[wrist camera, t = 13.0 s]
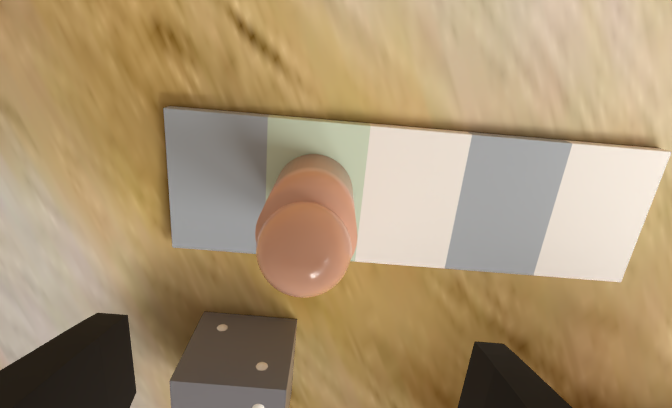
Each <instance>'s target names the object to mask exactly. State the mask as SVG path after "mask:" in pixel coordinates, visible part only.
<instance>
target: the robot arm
mask: <svg viewBox="0 0 672 408" xmlns="http://www.w3.org/2000/svg"><path fill="white" fill-rule="evenodd" d="M135 394H136V385H135V376H134V367H133V358H132V350H131V341H130V332H129V323H128V315H119V314H106V313H97V314H95V315H93V316H91V317H89V318H87V319H86V320H84V321H82V322H80V323H79V324H77V325H75V326H74V327H72V328H70V329H68V330H67V331H65V332H63V333H62V334H60V335H59V336H57V337H55V338H54V339H52V340H50V341H49V342H47V343H45V344H44V345H42V346H40V347H39V348H37V349H35V350H34V351H32V352H31V353H29V354H27V355H26V356H24V357H22V358H20V359H19V360H17V361H15V362H14V363H12V364H10V365H9V366H7V367H5V368H4V369H2V370H0V408H130V406H131V403H132V401H133V399H134V396H135ZM458 408H572V407H571V406H570V405H569V404H568V403H567V402H566V401H564V400H563V399H562V398H561V397H560V396H559V395H558V394H557V393H556V392H555V391H554V390H553V389H552V388H551V387H550V386H549V385H548V384H546V383H545V382H544V381H543V380H542V379H541V378H540V377H539V376H538V375H537V374H536V373H535V372H534V371H533V370H532V369H531V368H530V367H528V366H527V365H526V364H525V363H524V362H523V361H522V360H521V359H520V358H519V357H518V356H517V355H516V354H515V353H513V352H512V351H511V350H510V349H509V348H508V347H507V346H505V345H504V344H499V343H486V342H475V343H474V346H473V350H472V354H471V358H470V362H469V366H468V370H467V374H466V378H465V381H464V385H463V389H462V393H461V397H460V401H459V405H458Z"/></svg>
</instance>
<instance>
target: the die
mask: <svg viewBox="0 0 672 408" xmlns="http://www.w3.org/2000/svg"><path fill="white" fill-rule="evenodd" d="M296 327H297V319H287V318H275V317H263V316H251V315H239V314H227V313H215V312H204V313H203V315H202V317H201V319H200V321H199V323H198V325H197V327H196V329H195V331H194V333H193V335H192V337H191V339H190V341H189V343H188V345H187V347H186V349H185V351H184V353H183V355H182V357H181V359H180V361H179V363H178V365H177V367H176V369H175V371H174V373H173V375H172V377H171V379H170V395H171V408H289V406H290V399H291V391H292V380H293V366H294V353H295V340H296Z"/></svg>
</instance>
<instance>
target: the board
mask: <svg viewBox="0 0 672 408" xmlns="http://www.w3.org/2000/svg"><path fill="white" fill-rule="evenodd" d="M163 109H164V124H165V140H166V155H167V170H168V186H169V201H170V216H171V232H172V247H175V248H188V249H200V250H213V251H226V252H239V253H252V254H256V239H255V230H256V224H257V220H258V218H259V215H260V213H261V211H262V209H263V207H264V205H265V203H266V201H267V199H268V196H269V194H270V192H271V190H272V188H273V186H274V184H275V182H276V180H277V178H278V175H279V174H280V172H281V170H282V169H283V168H284V166H285V165H286V164H287V163H289V162H290V161H291V160H293V159H295V158H297V157H299V156H302V155H307V154H319V155H324V156H328V157H330V158H332V159H334V160H335V161H337V162H338V163H340V164H341V165H342V166H343V167H344V169H345V170H346V171H347V173H348V175H349V176H350V179H351V182H352V186H353V196H354V206H355V216H356V226H357V245H356V249H355V252H354V254H353V256H352V258H351V260H350V261H355V262H368V263H381V264H393V265H406V266H419V267H432V268H445V269H458V270H471V271H484V272H496V273H509V274H522V275H535V276H548V277H561V278H574V279H586V280H599V281H612V282H621V281H622V278H623V276H624V273H625V270H626V268H627V265H628V263H629V260H630V258H631V255H632V252H633V250H634V247H635V245H636V242H637V240H638V237H639V234H640V232H641V229H642V227H643V224H644V222H645V219H646V216H647V214H648V211H649V209H650V206H651V203H652V201H653V198H654V196H655V193H656V191H657V188H658V185H659V183H660V180H661V178H662V175H663V173H664V170H665V167H666V165H667V162H668V160H669V157H670V155H671V152H670V151H667V150H664V149H661V148H649V147H638V146H626V145H615V144H603V143H592V142H580V141H569V140H557V139H545V138H534V137H522V136H511V135H499V134H488V133H476V132H465V131H453V130H442V129H430V128H418V127H407V126H395V125H384V124H372V123H361V122H349V121H338V120H326V119H315V118H303V117H292V116H280V115H268V114H257V113H245V112H234V111H222V110H211V109H199V108H188V107H176V106H168V107H165V108H163Z"/></svg>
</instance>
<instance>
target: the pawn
mask: <svg viewBox="0 0 672 408" xmlns="http://www.w3.org/2000/svg"><path fill="white" fill-rule="evenodd" d="M255 239H256V257H257V262H258V265H259V268H260V270H261V272H262V274H263V276H264V277H265V278H266V280H267V281H268V282H269V283H270V284H271V285H272V286H273V287H274V288H276V289H277V290H279V291H280V292H282V293H284V294H287V295H290V296H294V297H313V296H317V295H320V294H323V293H325V292H327V291H328V290H330V289H331V288H333V287H334V286H335V285H337V283H338V282H339V281H340V280H341V279H342V277H343V276H344V275H345V273H346V271H347V269H348V266H349V264H350V260H351V258H352V256H353V254H354V252H355V249H356V245H357V226H356V216H355V206H354V196H353V186H352V182H351V179H350V176H349V175H348V173H347V171H346V170H345V169H344V167H343V166H342V165H341V164H340V163H338V162H337V161H335V160H334V159H332V158H330V157H328V156H324V155H319V154H307V155H302V156H299V157H297V158H295V159H293V160H291V161H290V162H289V163H287V164H286V165H285V166H284V168H283V169H282V170H281V172H280V174H279V175H278V178H277V180H276V182H275V184H274V186H273V188H272V190H271V192H270V194H269V196H268V199H267V201H266V203H265V205H264V207H263V209H262V211H261V213H260V215H259V218H258V220H257V224H256V230H255Z"/></svg>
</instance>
